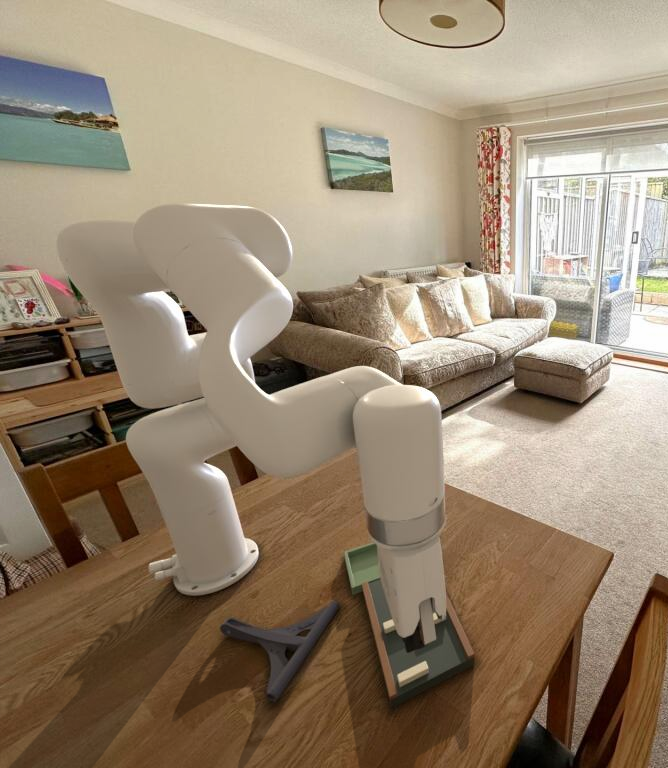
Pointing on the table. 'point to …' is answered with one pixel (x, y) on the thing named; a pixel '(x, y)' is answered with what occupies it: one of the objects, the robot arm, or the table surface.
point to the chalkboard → (440, 655)
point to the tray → (362, 566)
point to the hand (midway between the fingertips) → (418, 640)
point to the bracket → (282, 644)
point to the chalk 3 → (437, 618)
